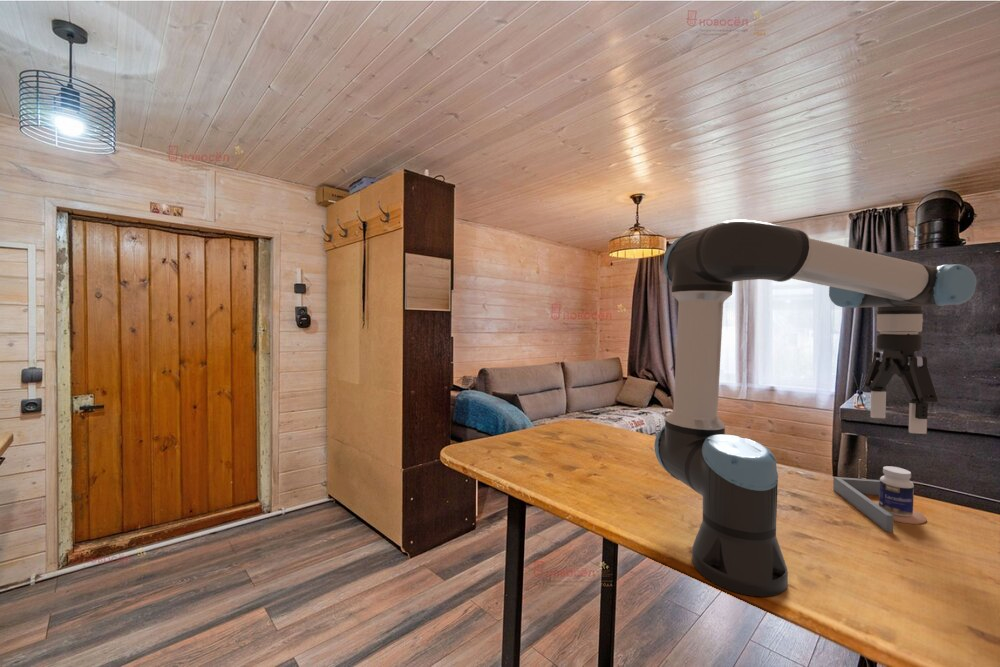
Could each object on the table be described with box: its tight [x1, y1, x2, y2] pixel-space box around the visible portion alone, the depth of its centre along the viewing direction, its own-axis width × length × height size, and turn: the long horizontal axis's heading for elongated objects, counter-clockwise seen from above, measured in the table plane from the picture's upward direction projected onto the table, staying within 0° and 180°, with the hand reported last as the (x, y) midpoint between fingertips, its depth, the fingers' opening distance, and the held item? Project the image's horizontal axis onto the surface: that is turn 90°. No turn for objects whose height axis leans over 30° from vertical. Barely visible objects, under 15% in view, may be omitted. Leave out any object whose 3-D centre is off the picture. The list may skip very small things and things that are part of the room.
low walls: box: [832, 476, 894, 533], centre depth 97 cm, size 22×10×4 cm, turn 165°
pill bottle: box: [878, 465, 915, 517], centre depth 95 cm, size 6×6×10 cm
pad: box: [874, 501, 927, 525], centre depth 96 cm, size 10×10×1 cm
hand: (896, 425), depth 95 cm, fingers open, 13 cm apart
